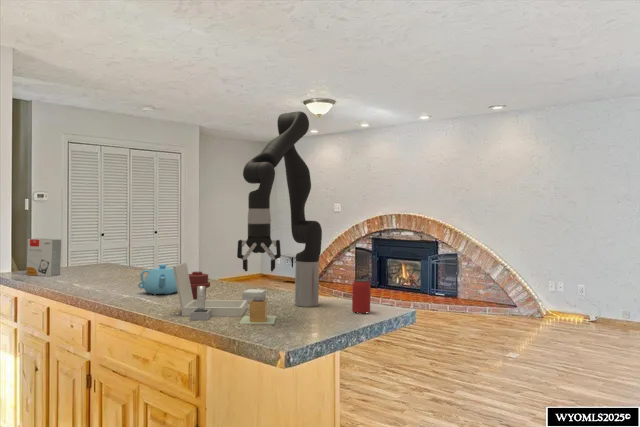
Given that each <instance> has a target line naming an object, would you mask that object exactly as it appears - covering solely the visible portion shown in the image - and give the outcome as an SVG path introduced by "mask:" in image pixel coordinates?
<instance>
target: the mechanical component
mask: <svg viewBox="0 0 640 427" xmlns="http://www.w3.org/2000/svg"><path fill="white" fill-rule="evenodd" d="M188 274H189V279H190V284H191V290H192V295H193V300H197V286H205V300H207V298H206V297H207V289H208V288H210V287H211V282H210V281H209V274H208V273H203V271H192V272H191V273H188Z"/></svg>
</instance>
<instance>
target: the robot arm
mask: <svg viewBox="0 0 640 427" xmlns="http://www.w3.org/2000/svg"><path fill="white" fill-rule="evenodd" d="M309 128H310V120H309V117H308V115H307V114H306V112H303V111H298V110H297V111H292V112H291V111H290V112H285V113H281V114H279V115H278V118H277V132H278V136H275V138H273V139H272V140H270V141H269V142H268V143H267V144H266V146H265V147H264V148H263V149H262V151H261V152H260V153H258V154H257V155H255V156H254V157H253V158H251V159H250V160H249V161H248V162H247V163H246V164H245V165H244V167H243V171H242V176H243V178H244V181H245V182H246V183H248V184H255V185H256V184H259V186H258V188H256V189H255V190H252V191H250V192H249V193H248V197H247V198H248V204H247V205H248V206H247V207H248V211H247V238H246V240H245V239H244V240H243V239H239V240H238V241H237V252H236V253H237V255H236V257H237V259H240V260H242V269H243V270H244V272H248V268H249V266H248V265H249V261H248V258H249V256H250V255H251V254H252V253H253V254H258V253H260V254H264V253H266V254H267V255H268V256H269V257H270V272H274V270H275V269H276V260H277V259H280V258H281V256H282V254H281V253H282V252H281V250H282V249H281V241H280V239H276V240H272V239H271V235H272V234H271V233H272V232H271V223H272V222H271V221H272V219H271V209H270V206H271V205H270V204H271V203H270V201H271V199H270V198H271V194H272V193H271V192H272V188H273V185H274V182H275V179H276V178H275V177H276V171H275V170H276V169H275V168H276V167H277V166H278V165H279V164H280V162H281V161H282V159H283V160H284V167H285V178H286V183H287V184H286V185H287V189H288V197H289V198H288V199H289V207H290V228H291V235H292V238H293V240H294V241H295V242H296V243H298V244H304V249H303V250H302V251H299V252H298V253H296V255H295V272H294V274H295V276H294V278H295V280H294V305H295V306H297V307H306V308H307V307H308V308H309V307H310V308H311V307H318V306H319V296H320V294H319V293H320V292H319V290H320V288H319V286H320V282H319V276H320V275H319V272H320V256H321V253H322V252H321V250H322V239H323V237H322V236H323V230H322V225H321V224H320V222H319V221H317V220H307V219H306V217H305V216H306V215H305V206H306V204H307V202H308V198H309V195H310V193H311V190H312V180H311V173H310V169H309V166H308V165H307V164H306V162H305V161H304V159H303V158H302V157H301V156H300V154H299V153H298V150H297V149H296V147H295V145H296V143H298V142H299V140H301V139H302V138H303V137H304V136H305V135H306V134H307V133H308V131H309ZM245 244H246V245H247V247H248V248H249V249H248V250H247V251H246V252H245V254H243V247H245ZM271 245H273V246H274V247H275V248H276V254H274V253H273V251H272V250H271V248H270V247H271Z"/></svg>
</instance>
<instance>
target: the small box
mask: <svg viewBox="0 0 640 427" xmlns="http://www.w3.org/2000/svg"><path fill="white" fill-rule="evenodd" d="M266 294H267V292H266V289H255V288H254V289H253V288H252V289H249V288H248V289H246V290H244V291H242V295H241V300H247V304H250V301H251V299H252V298H254V297H265V298H267V296H266Z"/></svg>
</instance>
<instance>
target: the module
mask: <svg viewBox="0 0 640 427" xmlns="http://www.w3.org/2000/svg"><path fill="white" fill-rule="evenodd" d="M249 316H250V322H265V321H266V319H267V316H268V297H266V298H265V297H254V298H252V299H251V301H250V303H249Z"/></svg>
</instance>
